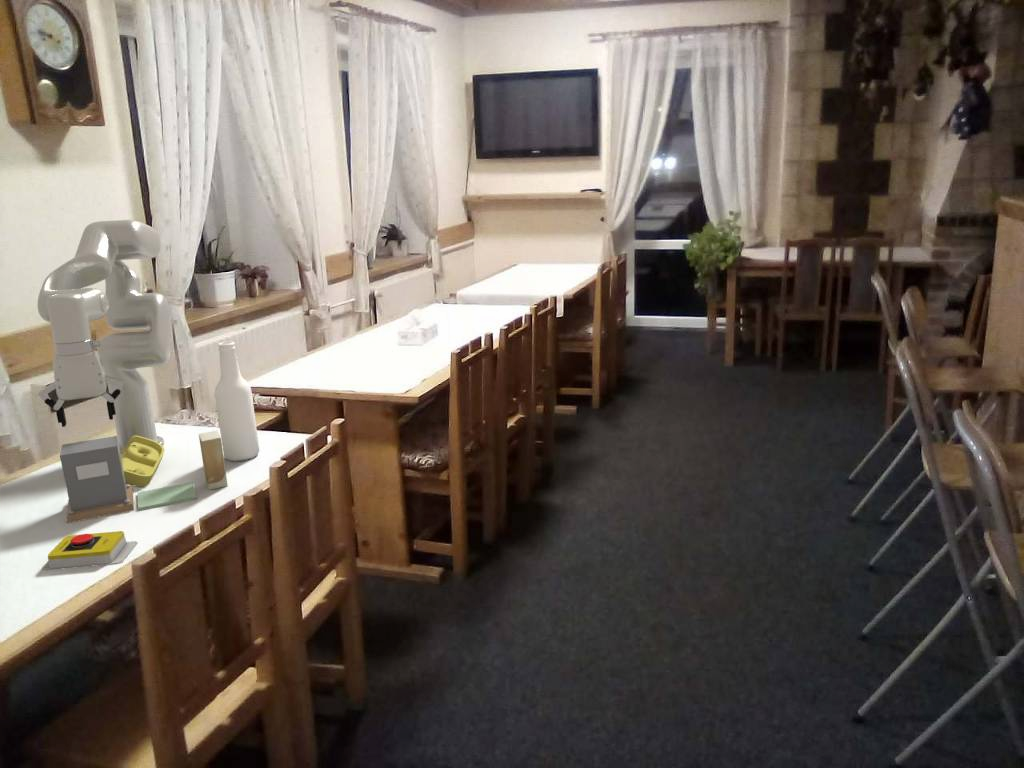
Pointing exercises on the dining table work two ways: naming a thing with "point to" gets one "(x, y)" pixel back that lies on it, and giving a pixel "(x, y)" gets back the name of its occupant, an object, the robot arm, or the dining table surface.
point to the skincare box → (213, 460)
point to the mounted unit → (95, 479)
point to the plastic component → (141, 460)
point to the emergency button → (90, 550)
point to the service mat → (166, 496)
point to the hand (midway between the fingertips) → (88, 421)
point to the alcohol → (235, 408)
